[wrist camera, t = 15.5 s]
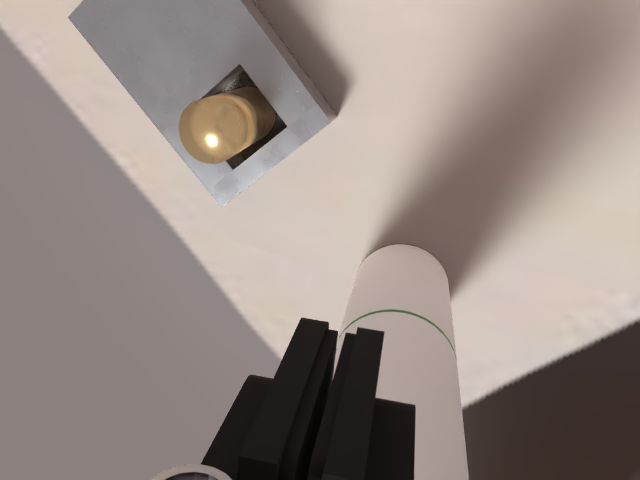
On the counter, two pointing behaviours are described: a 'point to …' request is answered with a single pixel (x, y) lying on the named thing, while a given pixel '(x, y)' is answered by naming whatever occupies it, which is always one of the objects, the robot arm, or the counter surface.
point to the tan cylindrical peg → (225, 124)
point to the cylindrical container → (414, 350)
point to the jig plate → (204, 73)
